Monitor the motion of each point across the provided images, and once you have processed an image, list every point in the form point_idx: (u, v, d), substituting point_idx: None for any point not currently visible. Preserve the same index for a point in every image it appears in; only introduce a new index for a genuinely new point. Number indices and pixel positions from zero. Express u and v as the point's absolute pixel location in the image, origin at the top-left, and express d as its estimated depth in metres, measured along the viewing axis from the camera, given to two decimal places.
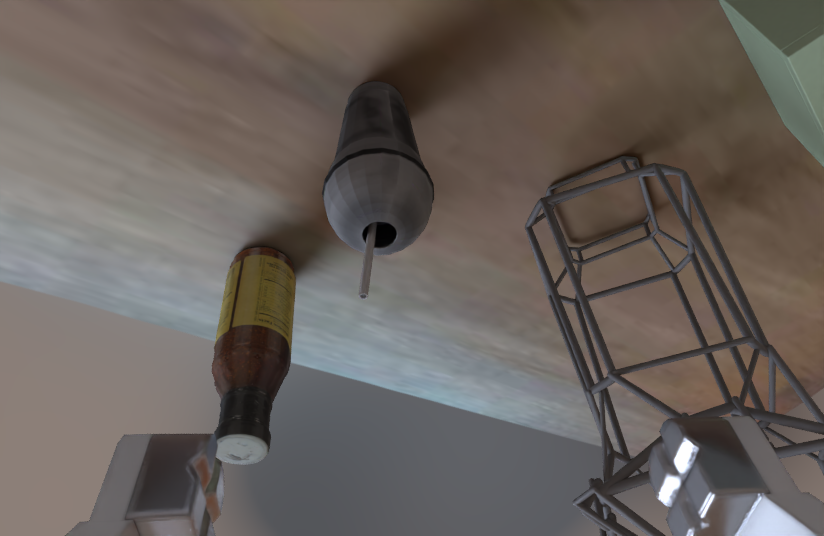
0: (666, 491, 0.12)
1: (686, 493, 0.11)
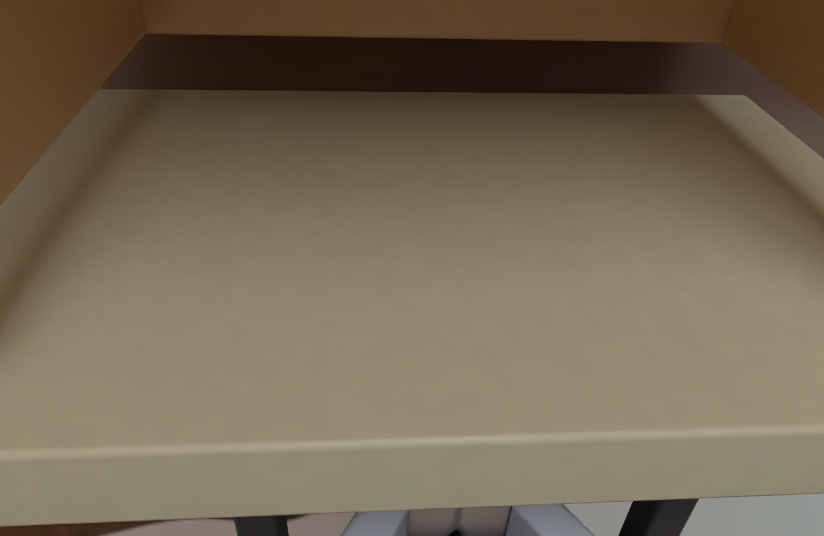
0: None
1: None
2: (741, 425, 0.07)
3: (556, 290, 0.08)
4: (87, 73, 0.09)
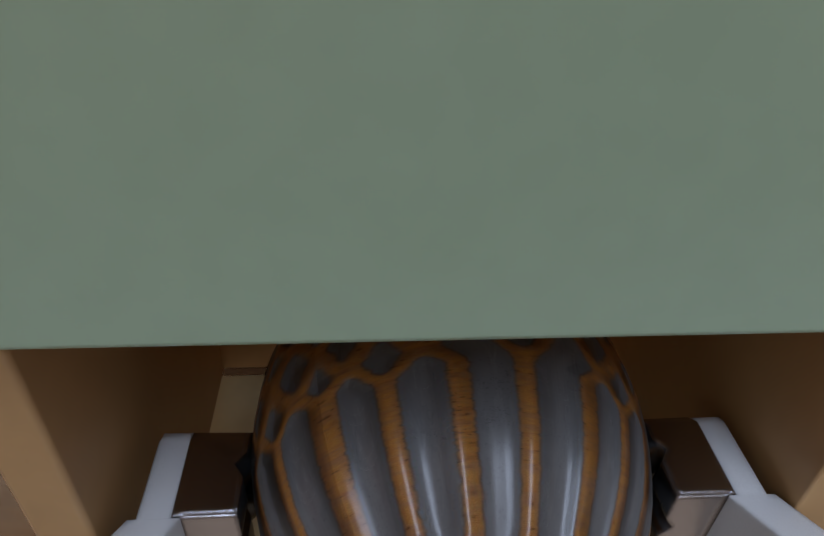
0: None
1: (654, 494, 0.11)
2: None
3: None
4: None
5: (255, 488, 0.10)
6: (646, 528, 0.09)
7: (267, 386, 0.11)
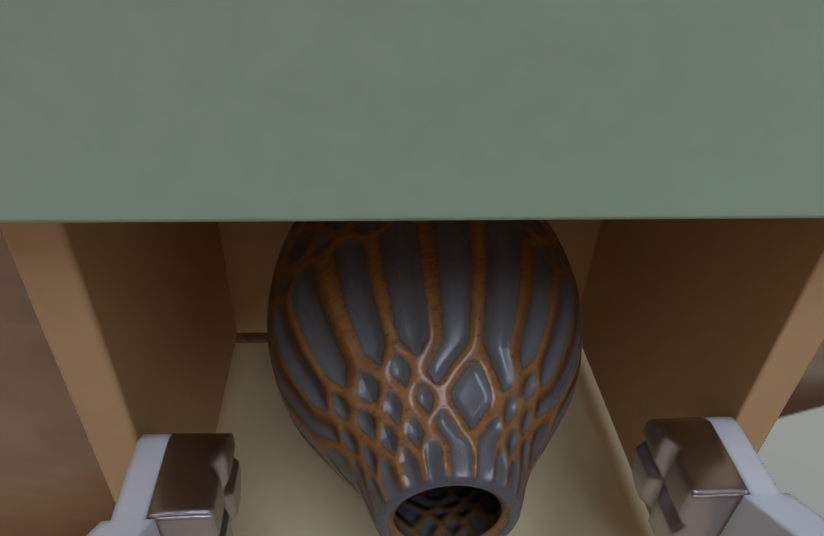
0: (648, 492, 0.12)
1: (667, 494, 0.11)
2: None
3: None
4: (220, 397, 0.17)
5: (271, 336, 0.13)
6: (572, 357, 0.12)
7: (279, 261, 0.13)
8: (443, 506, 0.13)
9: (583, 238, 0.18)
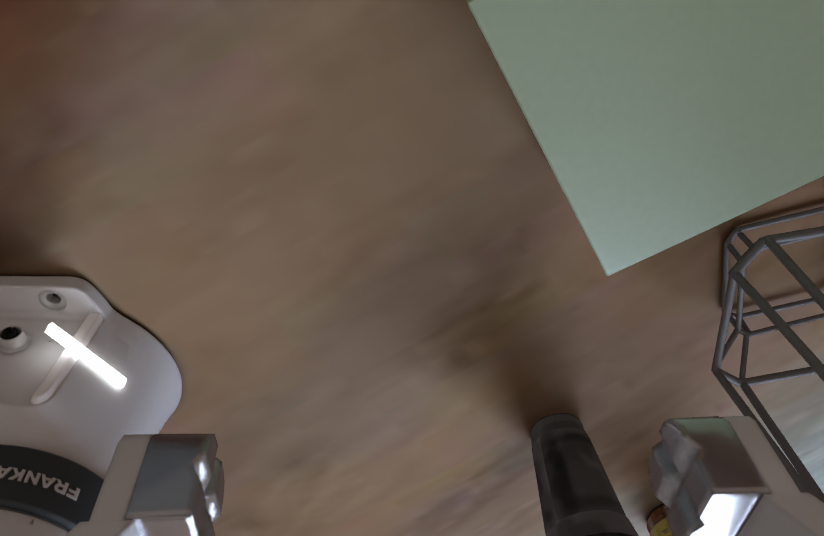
0: (666, 491, 0.12)
1: (686, 493, 0.11)
2: None
3: None
4: None
5: None
6: None
7: None
8: None
9: None
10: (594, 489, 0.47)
